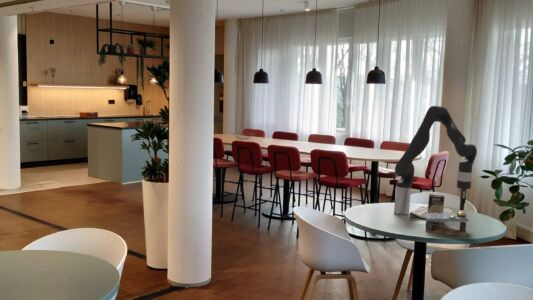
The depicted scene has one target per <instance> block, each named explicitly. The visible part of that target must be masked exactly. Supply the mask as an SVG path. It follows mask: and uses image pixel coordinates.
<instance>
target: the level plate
mask: <svg viewBox="0 0 533 300" xmlns="http://www.w3.org/2000/svg"><path fill="white" fill-rule="evenodd" d="M425 217H426V218H425V222H426V221H442V222H456V223H457V222H459V223H460V222H466V223H467V222H469V218H468V213H467V212H466V211H464V210H458V211H456V212H443V213H438V212H428V211H427V212H426V216H425Z"/></svg>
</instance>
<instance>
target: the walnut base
mask: <svg viewBox="0 0 533 300" xmlns="http://www.w3.org/2000/svg"><path fill="white" fill-rule="evenodd" d="M425 233H431V234H440V235H441V234H442V235H451V236H458V237H459V236H460V237H468V232H467V222H459V226H455V225H447V224H440V223H433V222H432V221H426V220H425Z"/></svg>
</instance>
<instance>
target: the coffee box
mask: <svg viewBox="0 0 533 300" xmlns="http://www.w3.org/2000/svg"><path fill="white" fill-rule="evenodd" d="M428 195H429V196H428V202H427V212H438V213H444V205H445V195H440V194H433V193H430V194H428ZM432 223H433V224H440V225H443V224H442V223H443V221H432Z"/></svg>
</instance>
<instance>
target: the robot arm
mask: <svg viewBox="0 0 533 300" xmlns="http://www.w3.org/2000/svg"><path fill="white" fill-rule="evenodd" d="M435 122H437V123H441V124H442V125H443V126H444V127H445V131H446V135H447V137H448V139H449V140H450V141H451V142H452V144H453V146H454V148H455V151H456V153H457V155H459V156H460V157H463V158H464V159H463V160H460V161H459V164H458V172H457V179H456V180H457V181H456V188H457V189H460V190H459V191H458V193H459V197H458V199H459V211H464V210H465V204H466V201H467V196H468V191H467V190H471V189H472V181H473V164H474V162H475V160H476V157H477V153H478V150H477V147H476V146H475V145H474V144H471V143H469V144H468V143H466V141H467V140H466V137H465V136H464V135H463V133H462V132H461V131H460V129H459V128H458V127H457V125H456V124H455V122H454V120H453V119H452V117H451V114H450V112H449V111H448V109H447V108H446V107H444V106H439V105H431V106H430V107H429V108H428V109H427V111H426V113H425V115H424V118H423V119H422V121H421V124H420V125H419V127H418V130H417V131H416V133H415V135H414V136H413V138H412V139H411V141H410V143H409V145H408V146H407V148H406V150H405V151H404V153H403V155H402V156H401V157H400V159H399V160H398V161H397V162H396V165H395V167H394V173H395V174H396V176H398V177H400V179H398V180H397V181H396V186H395V199H394V208H393V214H398V215H403V216H405V215H409V214H410V206H411V193H412V185H413V183H414V182H413V181H414V176H415V175H414V174H415V166H414V163H412V162H413V161H414V160H416V158H417V157H418V156H419V155H421V154H422V153H423V152H424V151H425V149H426V147H427V146H428V144H429V143H430V138H431V137H430V136H431V133H430V131H431V128H432V126H433V124H434V123H435Z"/></svg>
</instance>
